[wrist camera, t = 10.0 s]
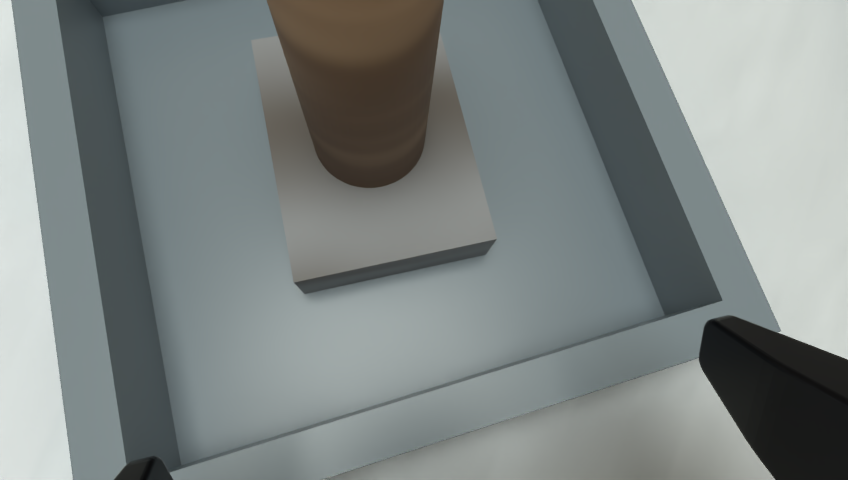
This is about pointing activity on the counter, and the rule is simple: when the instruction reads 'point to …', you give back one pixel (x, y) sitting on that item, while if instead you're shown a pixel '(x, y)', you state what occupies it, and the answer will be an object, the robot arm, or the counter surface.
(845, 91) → the counter surface
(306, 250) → the brown post on plinth
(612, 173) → the tray
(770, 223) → the counter surface
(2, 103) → the counter surface
